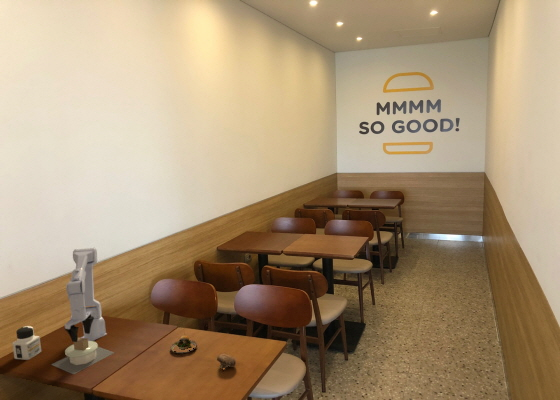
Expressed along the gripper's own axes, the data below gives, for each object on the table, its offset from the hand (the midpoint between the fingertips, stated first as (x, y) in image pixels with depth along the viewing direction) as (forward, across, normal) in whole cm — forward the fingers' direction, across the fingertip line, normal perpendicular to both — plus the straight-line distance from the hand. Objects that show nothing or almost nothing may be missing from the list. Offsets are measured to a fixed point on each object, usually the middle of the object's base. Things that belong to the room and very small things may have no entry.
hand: (81, 337), depth 188 cm
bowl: (+10, 0, 0) cm, 10 cm away
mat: (+10, 0, 0) cm, 10 cm away
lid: (+6, 0, 0) cm, 6 cm away
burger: (+11, -18, +39) cm, 45 cm away
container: (+11, +3, -28) cm, 30 cm away
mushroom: (+11, -9, +64) cm, 66 cm away
